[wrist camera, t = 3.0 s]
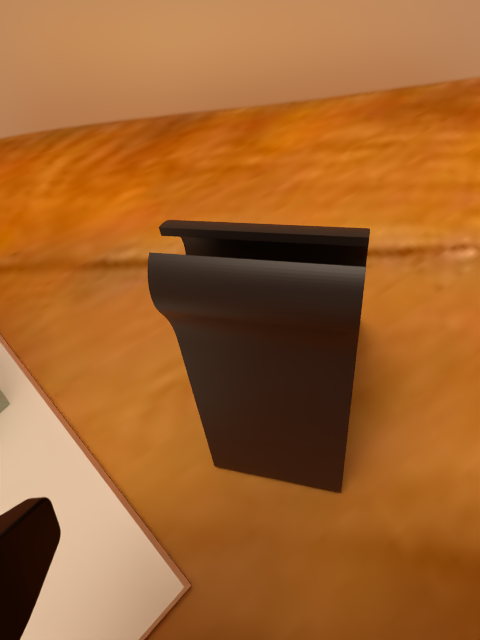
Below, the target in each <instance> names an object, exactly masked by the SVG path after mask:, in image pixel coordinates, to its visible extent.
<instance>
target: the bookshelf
mask: <svg viewBox="0 0 480 640" xmlns="http://www.w3.org/2000/svg"><path fill="white" fill-rule="evenodd" d="M37 497H46V498H49V499H50V501H51V502H52V505H53V508H54V511H55V514H56V517H57V519H58V522H59V525H60V529H61V537H60V541H59V544H58V547H57V549H56V552H55V555H54V557H53V560H52V563H51V565H50V568H49V570H48V573H47V576H46V578H45V581H44V584H43V586H42V589H41V592H40V594H39V597H38V599H37V602H36V605H35V607H34V610H33V612H32V615H31V617H30V619H29V622H28V624H27V626H26V628H25V630H24V633H23V635H22V637H21V639H20V640H144V639H145V638H146V637H147V636H148V635H149V634H150V632H151V631H152V630H153V629H154V628H155V627H156V626H157V624H158V623H159V622H160V621H161V620H162V619H163V617H164V616H165V615H166V614H167V613H168V612H169V611H170V609H171V608H172V607H173V606H174V605H175V604H176V603H177V601H178V600H179V599H180V598H181V597H182V596H183V594H184V593H185V592H186V591H187V590H188V589H189V588H190V586H191V584H190V583H189V581H188V580H187V579H186V578H185V576H184V575H183V574H182V572H181V571H180V570H179V568H178V567H177V566H176V564H175V563H174V562H173V560H172V559H171V558H170V557H169V555H168V554H167V553H166V551H165V550H164V549H163V547H162V546H161V545H160V543H159V542H158V541H157V539H156V538H155V537H154V536H153V534H152V533H151V532H150V530H149V529H148V528H147V526H146V525H145V524H144V522H143V521H142V520H141V519H140V517H139V516H138V515H137V513H136V512H135V511H134V509H133V508H132V507H131V505H130V504H129V503H128V501H127V500H126V499H125V498H124V496H123V495H122V494H121V492H120V491H119V490H118V488H117V487H116V486H115V484H114V483H113V482H112V480H111V479H110V478H109V477H108V475H107V474H106V473H105V471H104V470H103V469H102V467H101V466H100V465H99V463H98V462H97V461H96V459H95V458H94V457H93V456H92V454H91V453H90V452H89V450H88V449H87V448H86V446H85V445H84V444H83V442H82V441H81V440H80V439H79V437H78V436H77V435H76V433H75V432H74V431H73V429H72V428H71V427H70V425H69V424H68V423H67V421H66V420H65V419H64V418H63V416H62V415H61V414H60V412H59V411H58V410H57V408H56V407H55V406H54V404H53V403H52V402H51V400H50V399H49V398H48V397H47V395H46V394H45V393H44V391H43V390H42V389H41V387H40V386H39V385H38V383H37V382H36V381H35V379H34V378H33V377H32V376H31V374H30V373H29V372H28V370H27V369H26V368H25V366H24V365H23V364H22V362H21V361H20V360H19V359H18V357H17V356H16V355H15V353H14V352H13V351H12V349H11V348H10V347H9V345H8V344H7V343H6V341H5V340H4V339H3V338H2V336H1V335H0V515H2V514H3V513H5V512H7V511H8V510H10V509H12V508H13V507H15V506H16V505H18V504H20V503H21V502H23V501H25V500H26V499H29V498H37Z"/></svg>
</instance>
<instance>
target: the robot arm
mask: <svg viewBox="0 0 480 640" xmlns="http://www.w3.org/2000/svg"><path fill="white" fill-rule="evenodd" d="M60 537H61V529H60V525H59V522H58V519H57V517H56V514H55V511H54V508H53V505H52V502H51V501H50V499H49V498H46V497H37V498H29V499H26V500H25V501H23V502H21V503H20V504H18V505H16V506H15V507H13V508H12V509H10V510H8V511H7V512H5V513H3V514H2V515H0V640H20V639H21V637H22V635H23V633H24V630H25V628H26V626H27V624H28V622H29V619H30V617H31V615H32V612H33V610H34V607H35V605H36V602H37V599H38V597H39V594H40V592H41V589H42V586H43V584H44V581H45V578H46V576H47V573H48V570H49V568H50V565H51V563H52V560H53V557H54V555H55V552H56V549H57V547H58V544H59V541H60Z"/></svg>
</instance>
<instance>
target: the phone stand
mask: <svg viewBox="0 0 480 640" xmlns="http://www.w3.org/2000/svg"><path fill="white" fill-rule="evenodd" d="M159 229H160V232H161V236H178V237H181V238H182V241H183V243H184V247H185V252H186V255H177V254H162V253H149V259H148V284H149V290H150V294H151V298H152V301H153V303H154V305H155V307H156V308H157V310H158V311H159V312H160V313H161V314H163V315H164V316H165V317H166V318H167V319H168V321H169V322H170V323H171V325H172V327H173V329H174V331H175V334H176V336H177V339H178V343H179V346H180V350H181V353H182V356H183V360H184V363H185V367H186V370H187V373H188V377H189V380H190V384H191V387H192V391H193V394H194V397H195V401H196V404H197V408H198V411H199V414H200V418H201V421H202V425H203V428H204V432H205V435H206V438H207V442H208V445H209V449H210V452H211V455H212V459H213V462H214V466H216V467H220V468H225V469H230V470H235V471H240V472H244V473H249V474H254V475H259V476H264V477H268V478H273V479H278V480H283V481H287V482H292V483H297V484H302V485H307V486H311V487H316V488H321V489H326V490H330V491H335V492H340V493H341V487H342V478H343V469H344V460H345V451H346V442H347V433H348V424H349V415H350V406H351V397H352V388H353V379H354V370H355V361H356V352H357V344H358V335H359V326H360V318H361V309H362V299H363V290H364V281H365V272H366V260H367V251H368V243H369V234H370V229H368V228H345V227H321V226H298V225H275V224H251V223H228V222H205V221H181V220H168V221H165V222H164V223H163V224H161V226H160V227H159Z"/></svg>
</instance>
